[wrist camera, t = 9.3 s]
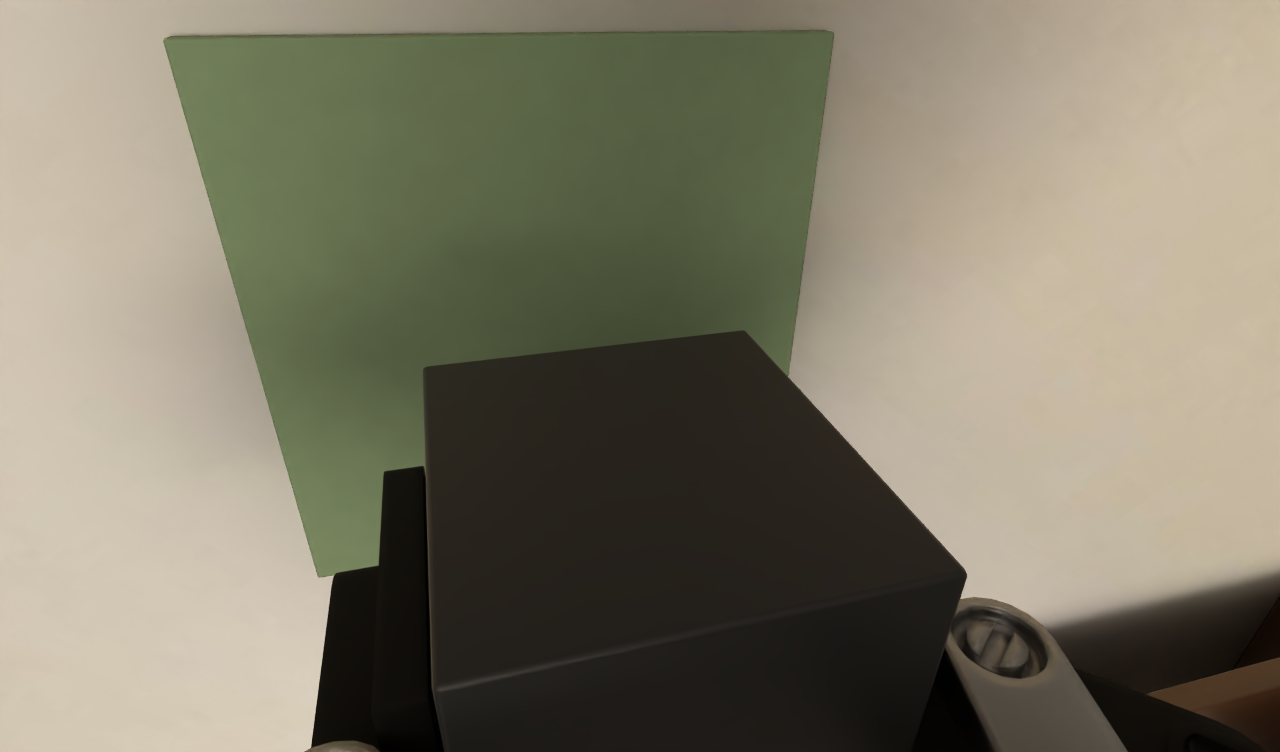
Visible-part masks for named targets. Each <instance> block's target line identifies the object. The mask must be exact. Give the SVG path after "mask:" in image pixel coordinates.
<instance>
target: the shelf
mask: <svg viewBox="0 0 1280 752" xmlns="http://www.w3.org/2000/svg"><path fill="white" fill-rule="evenodd" d="M1146 695H1149V696H1152V697H1154V698H1157V699H1160V700H1162V701H1165V702H1168V703H1171V704H1173V705H1176V706H1179V707H1181V708H1184V709H1187V710H1189V711H1192V712H1195V713H1197V714H1200V715H1203V716H1205V717H1208V718H1211V719H1213V720H1216V721H1218V722H1220V723H1222V724H1224V725H1227V726H1229V727H1231V728H1233V729H1235V730H1237V731H1239V732H1241V733H1242V734H1244V735H1245V736H1247V737H1248V738H1250V739H1251V740H1253V741H1254V742H1256V743H1257V744H1259V745H1260V746H1261V747H1262V748H1263V749H1264V750H1266V751H1267V752H1280V598H1279V600H1278V601H1277V603H1276V604H1275V606H1274V607H1273V609H1272V611H1271V612H1270V614H1269V615H1268V617H1267V618H1266V620H1265V622H1264V623H1263V625H1262V626H1261V628H1260V629H1259V631H1258V632H1257V634H1256V636H1255V637H1254V639H1253V640H1252V642H1251V643H1250V645H1249V646H1248V648H1247V650H1246V651H1245V653H1244V654H1243V656H1242V657H1241V659H1240V661H1239V662H1238V664H1237V665H1236V667H1235V668H1234V670H1231V671H1228V672H1224V673H1220V674H1217V675H1213V676H1209V677H1206V678H1202V679H1198V680H1195V681H1191V682H1187V683H1184V684H1180V685H1176V686H1173V687H1169V688H1165V689H1162V690H1158V691H1154V692H1151V693H1147V694H1146Z"/></svg>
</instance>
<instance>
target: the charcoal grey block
mask: <svg viewBox="0 0 1280 752" xmlns="http://www.w3.org/2000/svg"><path fill="white" fill-rule="evenodd" d="M423 403H424V438H425V472H426V507H427V541H428V576H429V610H430V645H431V679H432V692H433V697H434V702H435V707H436V712H437V717H438V723H439V728H440V733H441V738H442V743H443V748H444V752H912V750H913V746H914V743H915V740H916V737H917V734H918V731H919V727H920V724H921V721H922V718H923V715H924V711H925V708H926V705H927V702H928V699H929V696H930V692H931V689H932V686H933V683H934V680H935V677H936V673H937V670H938V667H939V664H940V661H941V658H942V654H943V651H944V648H945V645H946V642H947V639H948V635H949V632H950V629H951V626H952V623H953V620H954V616H955V613H956V610H957V607H958V604H959V600H960V597H961V594H962V591H963V588H964V585H965V581H966V578H967V573H966V571H965V569H964V568H963V567H962V566H961V565H960V564H959V563H958V561H957V560H956V559H955V558H954V557H953V556H952V555H951V554H950V553H949V552H948V551H947V549H946V548H945V547H944V546H943V545H942V544H941V543H940V542H939V541H938V540H937V539H936V537H935V536H934V535H933V534H932V533H931V532H930V531H929V530H928V529H927V528H926V527H925V526H924V524H923V523H922V522H921V521H920V520H919V519H918V518H917V517H916V516H915V515H914V514H913V512H912V511H911V510H910V509H909V508H908V507H907V506H906V505H905V504H904V503H903V502H902V500H901V499H900V498H899V497H898V496H897V495H896V494H895V493H894V492H893V491H892V490H891V488H890V487H889V486H888V485H887V484H886V483H885V482H884V481H883V480H882V479H881V478H880V476H879V475H878V474H877V473H876V472H875V471H874V470H873V469H872V468H871V467H870V466H869V465H868V463H867V462H866V461H865V460H864V459H863V458H862V457H861V456H860V455H859V454H858V453H857V451H856V450H855V449H854V448H853V447H852V446H851V445H850V444H849V443H848V442H847V441H846V439H845V438H844V437H843V436H842V435H841V434H840V433H839V432H838V431H837V430H836V429H835V427H834V426H833V425H832V424H831V423H830V422H829V421H828V420H827V419H826V418H825V417H824V415H823V414H822V413H821V412H820V411H819V410H818V409H817V408H816V407H815V406H814V405H813V404H812V402H811V401H810V400H809V399H808V398H807V397H806V396H805V395H804V394H803V393H802V392H801V390H800V389H799V388H798V387H797V386H796V385H795V384H794V383H793V382H792V381H791V380H790V378H789V377H788V376H787V375H786V374H785V373H784V372H783V371H782V370H781V369H780V368H779V366H778V365H777V364H776V363H775V362H774V361H773V360H772V359H771V358H770V357H769V356H768V354H767V353H766V352H765V351H764V350H763V349H762V348H761V347H760V346H759V345H758V344H757V343H756V341H755V340H754V339H753V338H752V337H751V336H750V335H749V334H748V333H747V332H746V331H744V330H740V331H731V332H723V333H714V334H705V335H697V336H688V337H679V338H670V339H662V340H653V341H644V342H636V343H627V344H618V345H610V346H601V347H592V348H584V349H575V350H566V351H557V352H549V353H540V354H531V355H523V356H514V357H505V358H497V359H488V360H479V361H471V362H462V363H453V364H444V365H436V366H427V367H425V368H424V369H423Z"/></svg>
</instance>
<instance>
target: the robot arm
mask: <svg viewBox="0 0 1280 752" xmlns="http://www.w3.org/2000/svg"><path fill="white" fill-rule="evenodd" d="M305 752H444V748H443V743H442V738H441V733H440V728H439V723H438V717H437V712H436V707H435V702H434V697H433V692H432V679H431V645H430V610H429V576H428V541H427V507H426V474H425V469H424V466H417V467H410V468H404V469H397V470H390V471H385V472H384V475H383V491H382V510H381V529H380V547H379V565H378V566H372V567H367V568H361V569H355V570H349V571H344V572H338V573H336V574H335V576H334V578H333V582H332V588H331V596H330V604H329V612H328V620H327V627H326V635H325V643H324V651H323V659H322V667H321V674H320V682H319V690H318V698H317V706H316V714H315V721H314V729H313V737H312V745H311V748H310V749H308V750H307V751H305ZM912 752H1267V751H1266V750H1264V749H1263V748H1262V747H1261V746H1260V745H1259V744H1257V743H1256V742H1254V741H1253V740H1251V739H1250V738H1248V737H1247V736H1245V735H1244V734H1242V733H1241V732H1239V731H1237V730H1235V729H1233V728H1231V727H1229V726H1227V725H1224V724H1222V723H1220V722H1218V721H1216V720H1213V719H1211V718H1208V717H1205V716H1203V715H1200V714H1197V713H1195V712H1192V711H1189V710H1187V709H1184V708H1181V707H1179V706H1176V705H1173V704H1171V703H1168V702H1165V701H1162V700H1160V699H1157V698H1154V697H1152V696H1149V695H1146V694H1144V693H1141V692H1138V691H1136V690H1133V689H1130V688H1128V687H1125V686H1122V685H1120V684H1117V683H1114V682H1112V681H1109V680H1106V679H1104V678H1101V677H1098V676H1096V675H1093V674H1090V673H1088V672H1085V671H1082V670H1080V669H1077V668H1074V667H1072V665H1071V664H1070V662H1069V661H1068V659H1067V657H1066V656H1065V654H1064V653H1063V651H1062V650H1061V648H1060V647H1059V645H1058V644H1057V642H1056V641H1055V639H1054V638H1053V637H1052V636H1051V634H1050V633H1049V632H1048V631H1047V630H1046V629H1045V627H1044V626H1043V625H1042V624H1040V623H1039V622H1038V621H1036V620H1035V619H1034V618H1032V617H1031V616H1030V615H1029V614H1027V613H1025V612H1023V611H1021V610H1019V609H1017V608H1015V607H1014V606H1012V605H1009V604H1006V603H1003V602H1000V601H996V600H993V599H987V598H977V597H972V598H965V599H960V600H959V604H958V607H957V610H956V613H955V616H954V620H953V623H952V626H951V629H950V632H949V635H948V639H947V642H946V645H945V648H944V651H943V654H942V658H941V661H940V664H939V667H938V670H937V673H936V677H935V680H934V683H933V686H932V689H931V692H930V696H929V699H928V702H927V705H926V708H925V711H924V715H923V718H922V721H921V724H920V727H919V731H918V734H917V737H916V740H915V743H914V746H913V750H912Z"/></svg>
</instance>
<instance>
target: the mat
mask: <svg viewBox="0 0 1280 752" xmlns="http://www.w3.org/2000/svg"><path fill="white" fill-rule="evenodd" d="M833 39H834V32H832V31H826V30H796V31H687V32H577V33H467V34H358V35H248V36H170V37H167V38H165V39H164V45H165V48H166V52H167V55H168V59H169V62H170V66H171V69H172V73H173V76H174V80H175V83H176V86H177V90H178V93H179V97H180V100H181V104H182V107H183V111H184V114H185V118H186V121H187V125H188V128H189V132H190V135H191V138H192V142H193V145H194V149H195V152H196V156H197V159H198V163H199V166H200V170H201V173H202V177H203V180H204V184H205V187H206V190H207V194H208V197H209V201H210V204H211V208H212V211H213V215H214V218H215V222H216V225H217V229H218V232H219V235H220V239H221V242H222V246H223V249H224V253H225V256H226V260H227V263H228V267H229V270H230V274H231V277H232V281H233V284H234V287H235V291H236V294H237V298H238V301H239V305H240V308H241V312H242V315H243V319H244V322H245V326H246V329H247V332H248V336H249V339H250V343H251V346H252V350H253V353H254V357H255V360H256V364H257V367H258V371H259V374H260V378H261V381H262V384H263V388H264V391H265V395H266V398H267V402H268V405H269V409H270V412H271V416H272V419H273V423H274V426H275V430H276V433H277V436H278V440H279V443H280V447H281V450H282V454H283V457H284V461H285V464H286V468H287V471H288V475H289V478H290V481H291V485H292V488H293V492H294V495H295V499H296V502H297V506H298V509H299V513H300V516H301V520H302V523H303V527H304V530H305V533H306V537H307V540H308V544H309V547H310V551H311V554H312V558H313V561H314V565H315V568H316V572H317V575H318V577H326V576H332V575H335V574H336V573H338V572H344V571H349V570H355V569H361V568H367V567H372V566H378V565H379V547H380V529H381V510H382V491H383V475H384V472H385V471H390V470H397V469H404V468H410V467H417V466H424V469H425V438H424V403H423V369H424V368H425V367H427V366H436V365H444V364H453V363H462V362H471V361H479V360H488V359H497V358H505V357H514V356H523V355H531V354H540V353H549V352H557V351H566V350H575V349H584V348H592V347H601V346H610V345H618V344H627V343H636V342H644V341H653V340H662V339H670V338H679V337H688V336H697V335H705V334H714V333H723V332H731V331H740V330H744V331H746V332H747V333H748V334H749V335H750V336H751V337H752V338H753V339H754V340H755V341H756V343H757V344H758V345H759V346H760V347H761V348H762V349H763V350H764V351H765V352H766V353H767V354H768V356H769V357H770V358H771V359H772V360H773V361H774V362H775V363H776V364H777V365H778V366H779V368H780V369H781V370H782V371H783V372H784V373H785V374H786V375H787V376H788V375H789V367H790V360H791V352H792V345H793V337H794V330H795V322H796V315H797V308H798V300H799V293H800V285H801V278H802V270H803V263H804V255H805V248H806V240H807V233H808V226H809V218H810V211H811V203H812V196H813V188H814V181H815V173H816V166H817V159H818V151H819V144H820V136H821V129H822V121H823V114H824V106H825V99H826V91H827V84H828V77H829V69H830V62H831V54H832V47H833ZM425 474H426V472H425Z"/></svg>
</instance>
